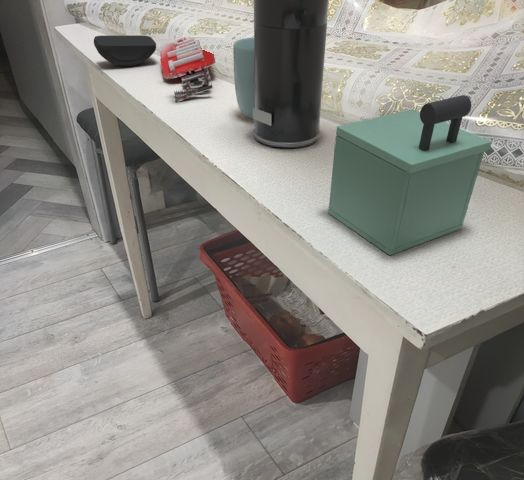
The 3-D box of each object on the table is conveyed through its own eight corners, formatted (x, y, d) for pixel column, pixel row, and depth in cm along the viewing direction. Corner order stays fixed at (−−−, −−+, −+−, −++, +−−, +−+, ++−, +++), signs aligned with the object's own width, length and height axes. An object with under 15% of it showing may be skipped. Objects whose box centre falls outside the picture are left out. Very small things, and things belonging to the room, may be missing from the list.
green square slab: (489, 149, 49) (506, 96, 46) (410, 173, 45) (421, 116, 42) (411, 116, 56) (420, 67, 53) (335, 134, 52) (340, 82, 49)
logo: (221, 77, 84) (163, 95, 84) (224, 88, 85) (167, 106, 86) (205, 27, 100) (156, 43, 101) (208, 37, 102) (160, 53, 102)
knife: (183, 54, 100) (208, 51, 99) (185, 67, 101) (210, 63, 101) (178, 84, 88) (207, 80, 88) (181, 98, 89) (209, 94, 89)
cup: (254, 105, 85) (253, 34, 78) (295, 113, 81) (297, 41, 75) (226, 118, 80) (222, 44, 73) (268, 127, 77) (268, 51, 70)
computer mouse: (97, 45, 96) (100, 69, 99) (157, 45, 99) (158, 68, 102) (91, 35, 100) (94, 58, 102) (149, 35, 103) (150, 57, 106)
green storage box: (461, 228, 55) (485, 148, 49) (389, 255, 51) (406, 172, 46) (396, 191, 62) (410, 117, 56) (328, 213, 58) (335, 135, 52)
